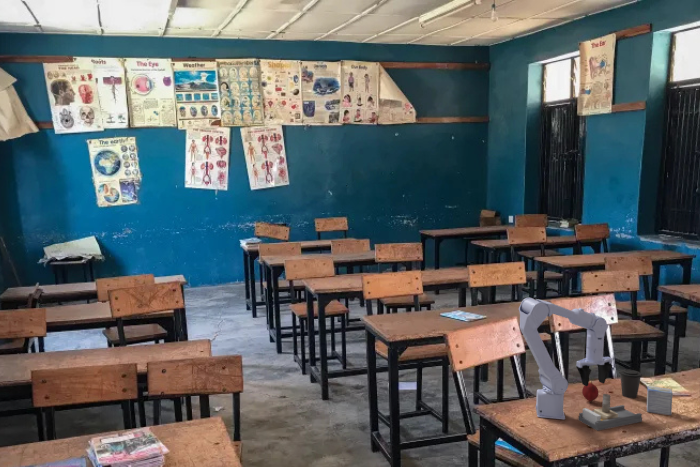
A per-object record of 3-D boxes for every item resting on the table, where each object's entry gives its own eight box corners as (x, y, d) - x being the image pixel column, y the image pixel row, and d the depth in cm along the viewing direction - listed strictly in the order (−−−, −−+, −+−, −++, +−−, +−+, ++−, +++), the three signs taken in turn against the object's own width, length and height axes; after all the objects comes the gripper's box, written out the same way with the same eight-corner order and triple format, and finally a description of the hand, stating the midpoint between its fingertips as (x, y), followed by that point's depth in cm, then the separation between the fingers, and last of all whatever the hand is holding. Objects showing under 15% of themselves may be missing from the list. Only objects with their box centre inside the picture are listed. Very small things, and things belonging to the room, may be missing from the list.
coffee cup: (623, 390, 230) (624, 366, 229) (644, 395, 224) (645, 371, 223) (614, 395, 224) (615, 370, 223) (636, 401, 218) (637, 376, 217)
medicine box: (670, 411, 209) (671, 388, 208) (671, 416, 205) (672, 392, 204) (646, 407, 212) (647, 385, 212) (646, 412, 208) (648, 389, 207)
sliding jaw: (606, 421, 197) (607, 399, 196) (593, 414, 202) (594, 393, 202) (617, 419, 198) (618, 397, 198) (604, 412, 204) (605, 391, 203)
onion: (600, 404, 215) (601, 384, 215) (585, 404, 216) (586, 384, 215) (594, 398, 221) (595, 378, 220) (579, 398, 221) (580, 378, 221)
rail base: (597, 430, 194) (597, 418, 193) (578, 420, 202) (578, 407, 202) (641, 421, 201) (642, 409, 200) (621, 411, 209) (622, 399, 208)
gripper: (586, 353, 201) (585, 390, 202) (619, 348, 206) (617, 385, 207) (572, 347, 208) (571, 383, 209) (604, 343, 212) (602, 378, 214)
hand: (593, 383), depth 208 cm, fingers open, 7 cm apart
